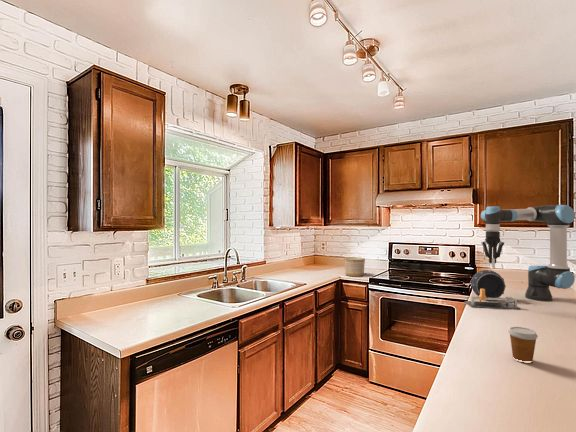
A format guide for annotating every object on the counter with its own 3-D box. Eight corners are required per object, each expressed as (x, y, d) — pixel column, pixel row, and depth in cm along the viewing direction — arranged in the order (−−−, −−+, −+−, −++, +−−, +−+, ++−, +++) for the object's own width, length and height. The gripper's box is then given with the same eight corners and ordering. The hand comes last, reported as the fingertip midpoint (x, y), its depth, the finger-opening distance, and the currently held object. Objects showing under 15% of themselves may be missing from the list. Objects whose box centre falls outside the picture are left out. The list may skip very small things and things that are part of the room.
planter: (352, 272, 332) (352, 256, 332) (368, 275, 318) (368, 258, 318) (340, 275, 319) (340, 258, 319) (356, 278, 305) (356, 260, 305)
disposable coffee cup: (502, 355, 137) (502, 326, 137) (524, 355, 138) (524, 326, 138) (520, 366, 128) (520, 335, 128) (543, 365, 128) (544, 334, 128)
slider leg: (482, 303, 214) (482, 287, 214) (486, 305, 208) (486, 289, 208) (477, 303, 214) (477, 287, 214) (481, 305, 209) (481, 289, 209)
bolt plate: (510, 304, 217) (510, 302, 217) (520, 309, 205) (520, 307, 205) (464, 302, 221) (464, 300, 221) (471, 307, 209) (471, 305, 209)
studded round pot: (507, 302, 222) (507, 272, 222) (474, 300, 226) (474, 271, 226) (500, 298, 233) (500, 269, 233) (469, 296, 237) (469, 268, 237)
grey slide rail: (513, 306, 211) (513, 296, 211) (517, 308, 206) (517, 298, 206) (469, 304, 215) (469, 294, 215) (472, 307, 210) (472, 296, 210)
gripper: (501, 230, 212) (500, 267, 212) (479, 230, 214) (478, 267, 214) (507, 231, 205) (506, 269, 205) (484, 231, 207) (483, 269, 207)
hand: (492, 268), depth 209 cm, fingers closed
